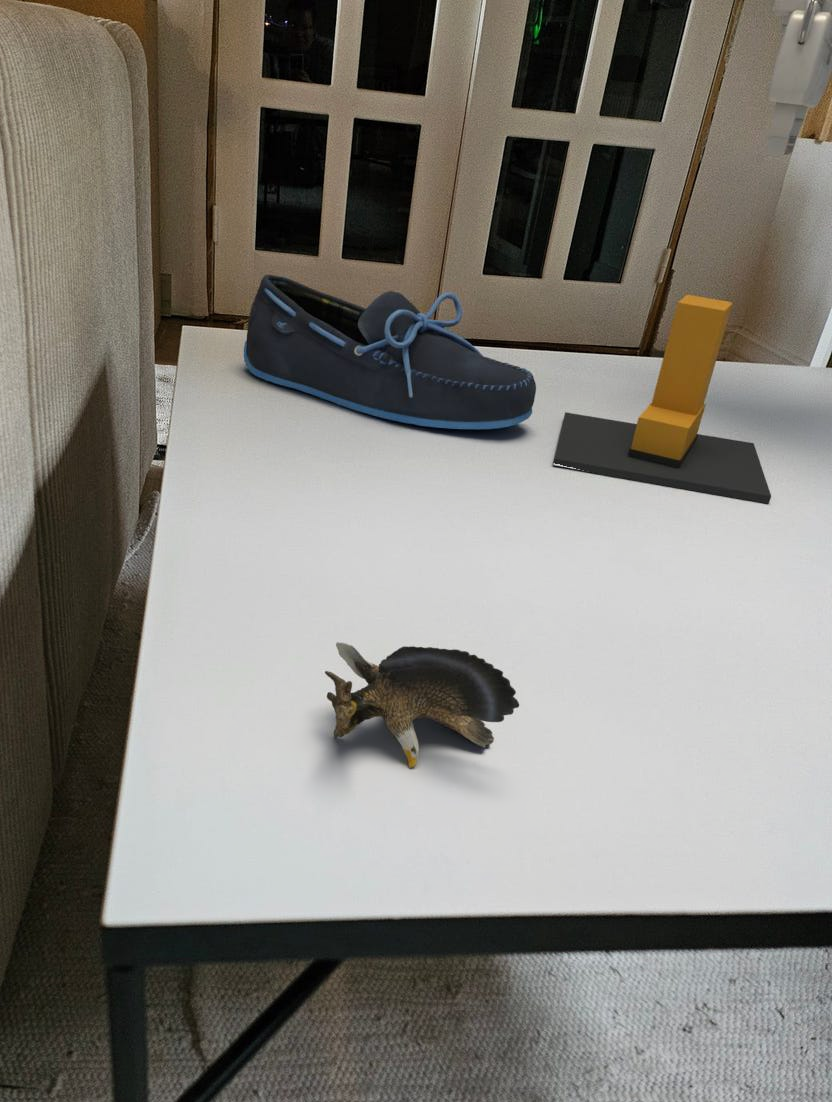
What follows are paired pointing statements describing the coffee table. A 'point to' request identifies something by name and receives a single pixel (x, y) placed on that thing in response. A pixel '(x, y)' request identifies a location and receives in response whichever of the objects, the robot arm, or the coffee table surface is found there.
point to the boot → (682, 382)
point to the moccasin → (381, 359)
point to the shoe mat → (702, 470)
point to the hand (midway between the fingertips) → (778, 155)
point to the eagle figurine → (423, 694)
